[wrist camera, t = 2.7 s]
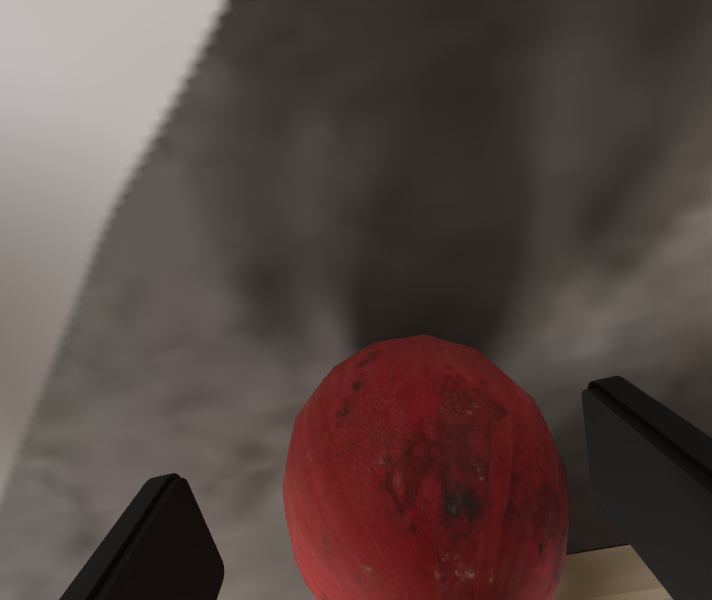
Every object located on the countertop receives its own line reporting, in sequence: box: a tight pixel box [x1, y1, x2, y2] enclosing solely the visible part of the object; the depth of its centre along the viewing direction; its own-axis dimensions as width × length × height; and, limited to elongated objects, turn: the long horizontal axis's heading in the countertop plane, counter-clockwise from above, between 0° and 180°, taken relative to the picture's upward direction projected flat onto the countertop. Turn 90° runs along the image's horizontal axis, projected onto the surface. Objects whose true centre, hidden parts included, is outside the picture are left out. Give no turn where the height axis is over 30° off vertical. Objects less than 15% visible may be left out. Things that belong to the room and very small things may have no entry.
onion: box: [283, 334, 570, 600], centre depth 8 cm, size 6×6×8 cm
